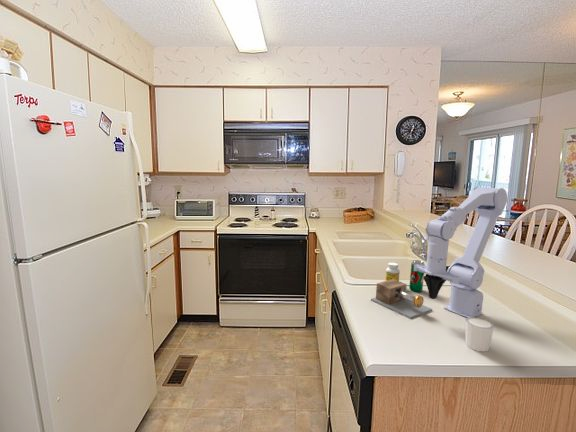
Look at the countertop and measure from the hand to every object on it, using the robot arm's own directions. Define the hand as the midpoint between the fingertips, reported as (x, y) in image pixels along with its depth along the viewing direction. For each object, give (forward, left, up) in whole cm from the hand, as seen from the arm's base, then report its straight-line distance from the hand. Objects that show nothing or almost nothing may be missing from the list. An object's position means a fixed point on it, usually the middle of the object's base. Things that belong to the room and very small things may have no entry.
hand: (432, 297), depth 104 cm
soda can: (+18, -18, -7) cm, 27 cm away
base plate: (+12, 0, -7) cm, 14 cm away
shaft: (+10, 0, -5) cm, 11 cm away
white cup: (-17, +4, -7) cm, 19 cm away
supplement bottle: (+26, -13, -7) cm, 30 cm away
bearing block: (+16, 0, -7) cm, 18 cm away
